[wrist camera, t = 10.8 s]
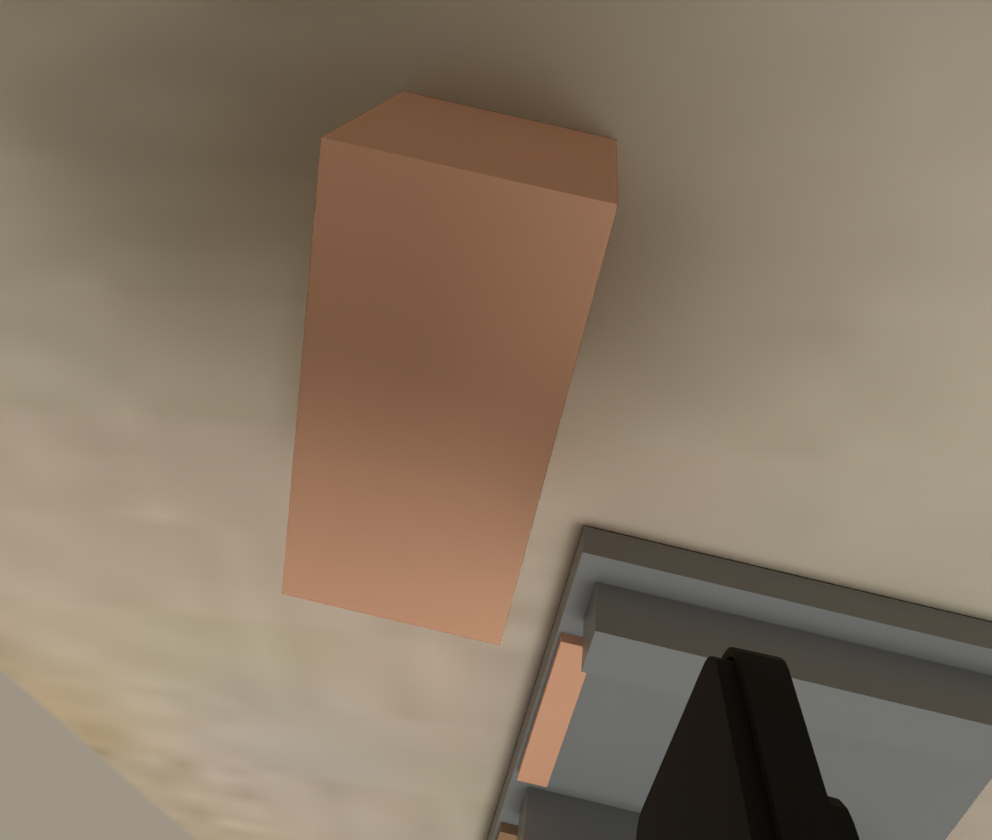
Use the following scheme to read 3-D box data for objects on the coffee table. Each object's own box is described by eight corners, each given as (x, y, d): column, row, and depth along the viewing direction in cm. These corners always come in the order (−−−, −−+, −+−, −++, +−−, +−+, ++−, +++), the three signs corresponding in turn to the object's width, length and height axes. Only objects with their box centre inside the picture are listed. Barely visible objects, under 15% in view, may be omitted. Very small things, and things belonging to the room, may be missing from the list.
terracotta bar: (404, 90, 15) (321, 137, 11) (616, 138, 15) (618, 204, 11) (357, 452, 19) (281, 593, 15) (525, 491, 19) (499, 644, 15)
